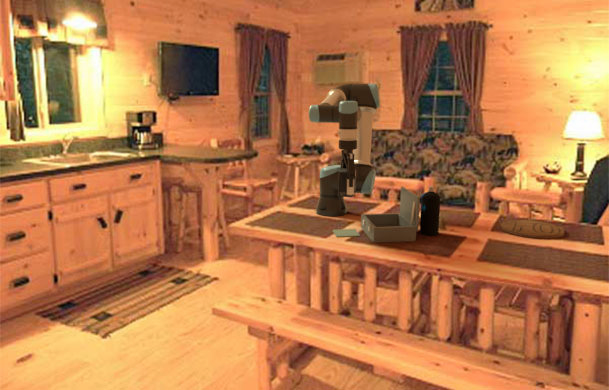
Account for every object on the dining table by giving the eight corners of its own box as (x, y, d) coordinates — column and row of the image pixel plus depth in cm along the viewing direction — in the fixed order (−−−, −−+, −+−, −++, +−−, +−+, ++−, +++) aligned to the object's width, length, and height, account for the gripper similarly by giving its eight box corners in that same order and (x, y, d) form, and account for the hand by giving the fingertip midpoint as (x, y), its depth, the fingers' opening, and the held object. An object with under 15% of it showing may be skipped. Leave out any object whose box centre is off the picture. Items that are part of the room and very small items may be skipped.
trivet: (501, 236, 213) (501, 232, 213) (500, 222, 236) (500, 218, 236) (567, 242, 205) (568, 238, 204) (560, 226, 228) (561, 222, 227)
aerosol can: (439, 231, 220) (442, 185, 216) (438, 236, 212) (440, 189, 208) (420, 229, 222) (422, 184, 218) (418, 234, 215) (420, 188, 211)
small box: (353, 197, 208) (354, 172, 206) (337, 197, 209) (337, 171, 207) (356, 192, 218) (356, 168, 216) (340, 191, 219) (341, 167, 217)
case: (359, 227, 226) (360, 187, 222) (401, 226, 228) (402, 186, 224) (372, 242, 204) (373, 198, 201) (417, 240, 206) (419, 197, 203)
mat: (332, 230, 221) (332, 229, 221) (355, 229, 223) (355, 228, 222) (336, 237, 212) (336, 236, 212) (360, 236, 213) (360, 235, 213)
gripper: (333, 136, 220) (333, 186, 225) (344, 142, 197) (344, 198, 201) (350, 136, 221) (350, 186, 225) (363, 142, 198) (362, 197, 202)
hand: (347, 191), depth 213 cm, fingers closed on small box, 11 cm apart
